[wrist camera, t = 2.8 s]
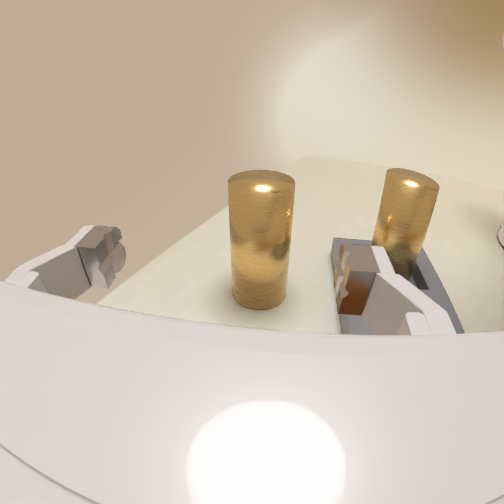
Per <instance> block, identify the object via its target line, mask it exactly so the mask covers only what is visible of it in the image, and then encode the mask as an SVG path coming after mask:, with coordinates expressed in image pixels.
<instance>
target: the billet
mask: <svg viewBox="0 0 504 504" xmlns="http://www.w3.org/2000/svg"><path fill="white" fill-rule="evenodd" d="M294 191H295V181H294V179H293V178H292V177H290V176H288V175H286V174H284V173H280V172H276V171H269V170H252V171H245V172H240V173H237V174H235V175H233V176H231V177H230V178H229V180H228V195H229V222H230V244H231V265H232V284H233V296H234V298H235V300H236V301H237V302H238V303H239V304H240V305H242V306H244V307H246V308H249V309H253V310H266V309H270V308H273V307H275V306H277V305H279V304H280V303H281V302H282V301H283V299H284V298H285V294H286V284H287V274H288V264H289V253H290V242H291V230H292V218H293V205H294Z"/></svg>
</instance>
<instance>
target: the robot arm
mask: <svg viewBox="0 0 504 504" xmlns="http://www.w3.org/2000/svg"><path fill="white" fill-rule="evenodd" d="M503 50H504V35H503ZM121 238H122V236H121V232H120V230H119V229H118V228H117V227H108V226H96V225H87V226H84V227H83V228H82V229H81V230H80V231H79V232H78V233H77V234H76V235H75V236H74V237H73V238H72V239H70V241H69V242H67V243H66V244H65V246H59V247H57V248H55V249H54V250H51V251H49V252H47V253H45V254H43V255H41V256H39V257H37V258H34V259H32V260H31V261H28V262H26V263H25V264H22V265H21V266H19V267H17V268H16V269H15V270H14V271H13V272H12V273H11V275H10V276H9V277H8V278H7V279H6V280H5V281H1V280H0V504H504V331H493V332H480V333H464V334H456V332H455V329H454V327H453V324H452V322H451V320H450V318H449V315H448V313H447V311H445V310H444V309H443V308H442V307H440V306H439V305H438V304H437V303H435V302H434V301H433V300H432V299H430V298H429V297H428V296H427V295H425V294H424V293H423V292H422V291H420V290H419V289H418V288H416V287H415V286H414V285H413V284H411V283H410V282H409V281H407V280H406V279H405V278H403V277H402V276H401V275H399V274H395V272H394V269H393V267H392V264H391V262H390V260H389V258H388V255H387V253H386V251H385V248H384V247H383V246H369V245H353V244H341V247H340V250H339V259H340V262H339V263H338V264H337V265H336V269H335V275H334V289H335V292H336V293H337V298H336V304H337V311H338V314H347V315H361V317H362V318H363V319H364V320H365V322H366V323H367V324H368V325H369V326H370V328H371V329H372V330H373V331H374V333H375V334H376V335H353V334H328V333H310V332H295V331H282V330H270V329H259V328H248V327H239V326H230V325H221V324H213V323H205V322H197V321H190V320H183V319H176V318H170V317H163V316H157V315H151V314H145V313H139V312H134V311H128V310H123V309H117V308H112V307H107V306H102V305H97V304H92V303H87V302H83V301H78V300H74V299H75V298H77V297H78V296H79V295H81V294H82V293H84V292H85V291H86V290H88V289H89V288H91V286H93V287H99V288H107V289H108V288H109V287H110V285H111V283H112V282H113V281H114V279H115V278H116V276H115V273H117V272H119V271H120V270H121V269H122V268H123V266H124V264H125V260H126V252H125V248H124V246H123V245H122V244H121V243H120V240H121ZM498 238H499V240H500V242H501V244H502V245H503V246H504V220H503V221H502V223H501V229H500V230H499V232H498Z"/></svg>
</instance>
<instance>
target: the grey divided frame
mask: <svg viewBox="0 0 504 504" xmlns="http://www.w3.org/2000/svg"><path fill="white" fill-rule="evenodd" d="M371 243H372V241H369V240H357V239H345V238H334V239H333V245H332V251H331V258H332V264H333V270H334V275H335V269H336V265H337V264H338V263H339V262H340V259H339V250H340V247H341V244H353V245H369V246H371ZM409 282H410V283H411V284H413V285H414V286H415V287H416V288H418V289H419V290H420V291H422V292H423V293H424V294H425V295H427V296H428V297H429V298H430V299H432V300H433V301H434V302H435V303H437V304H438V305H439V306H440V307H442V308H443V309H444V310H445V311H447V313H448V315H449V318H450V320H451V322H452V324H453V327H454V329H455V332H456V334H464V333H465V332H464V330H463V328H462V325H461V323H460V321H459V318H458V316H457V314H456V312H455V310H454V307H453V305H452V303H451V301H450V299H449V297H448V295H447V293H446V291H445V289H444V287H443V285H442V283H441V281H440V279H439V277H438V275H437V273H436V271H435V269H434V268H433V266H432V264H431V262H430V260H429V258H428V257H427V255H426V253H425V251H424V250H423V248H422V247H421V250H420V253H419V256H418V259H417V261H416V264H415V267H414V269H413V272H412V275H411V277H410V280H409ZM340 321H341V329H342V334H353V335H376V334H375V333H374V331H373V330H372V329H371V328H370V326H369V325H368V324H367V323H366V322H365V320H364V319H363V318H362V317H361V315H347V314H340Z"/></svg>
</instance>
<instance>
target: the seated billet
mask: <svg viewBox="0 0 504 504" xmlns="http://www.w3.org/2000/svg"><path fill="white" fill-rule="evenodd" d="M438 191H439V185H438V184H437V183H436V182H435V181H434V180H432V179H431V178H429V177H427V176H425V175H423V174H420V173H417V172H414V171H411V170H406V169H400V168H392V169H389V170H387V173H386V179H385V184H384V189H383V194H382V199H381V204H380V209H379V213H378V218H377V222H376V226H375V230H374V235H373V239H372V243H371V246H383V247H384V248H385V251H386V253H387V255H388V258H389V260H390V262H391V264H392V267H393V269H394V272H395V274H399V275H401V276H402V277H403V278H405V279H406V280H407V281H409V280H410V277H411V275H412V272H413V269H414V267H415V264H416V261H417V259H418V256H419V253H420V250H421V247H422V244H423V241H424V238H425V235H426V232H427V229H428V226H429V223H430V219H431V216H432V213H433V209H434V206H435V202H436V198H437V195H438Z"/></svg>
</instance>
